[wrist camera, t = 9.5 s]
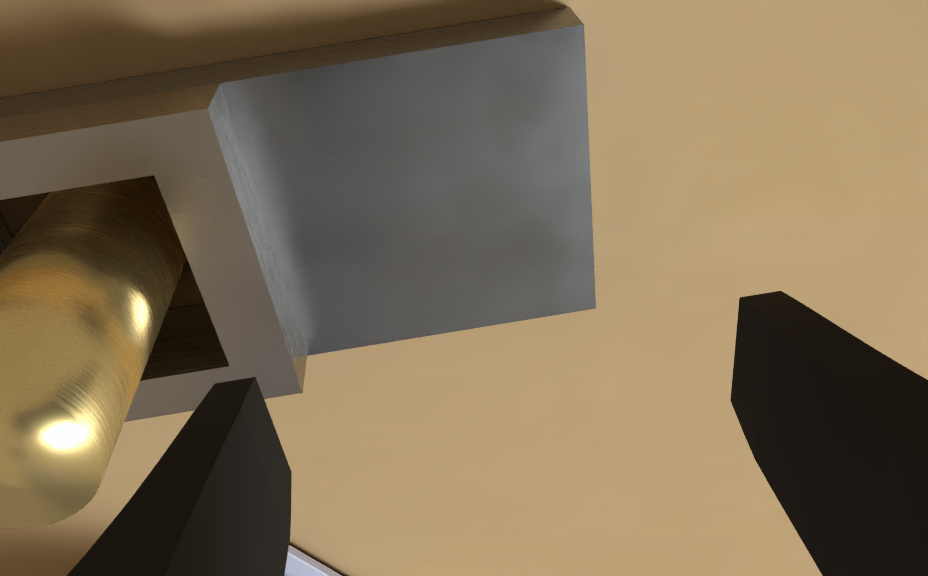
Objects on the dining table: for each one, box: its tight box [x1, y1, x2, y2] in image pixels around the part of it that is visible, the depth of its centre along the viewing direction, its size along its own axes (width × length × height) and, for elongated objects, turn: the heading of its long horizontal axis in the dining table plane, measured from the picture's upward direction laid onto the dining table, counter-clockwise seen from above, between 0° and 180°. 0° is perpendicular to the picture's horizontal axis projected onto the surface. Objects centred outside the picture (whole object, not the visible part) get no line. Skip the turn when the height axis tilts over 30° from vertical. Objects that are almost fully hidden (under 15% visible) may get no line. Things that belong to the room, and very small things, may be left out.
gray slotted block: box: [0, 7, 596, 422], centre depth 19 cm, size 24×8×3 cm, turn 97°
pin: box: [0, 176, 187, 529], centre depth 17 cm, size 4×4×8 cm
